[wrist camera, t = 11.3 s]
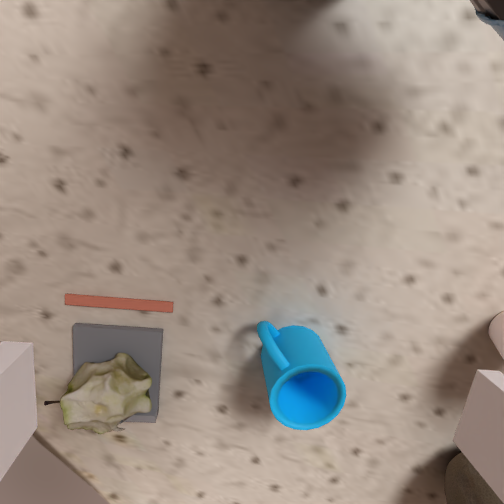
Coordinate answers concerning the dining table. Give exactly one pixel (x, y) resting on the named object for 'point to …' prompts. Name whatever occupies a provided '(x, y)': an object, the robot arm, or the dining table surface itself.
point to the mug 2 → (498, 332)
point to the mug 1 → (300, 377)
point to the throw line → (118, 303)
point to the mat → (122, 341)
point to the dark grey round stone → (467, 484)
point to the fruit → (106, 395)
